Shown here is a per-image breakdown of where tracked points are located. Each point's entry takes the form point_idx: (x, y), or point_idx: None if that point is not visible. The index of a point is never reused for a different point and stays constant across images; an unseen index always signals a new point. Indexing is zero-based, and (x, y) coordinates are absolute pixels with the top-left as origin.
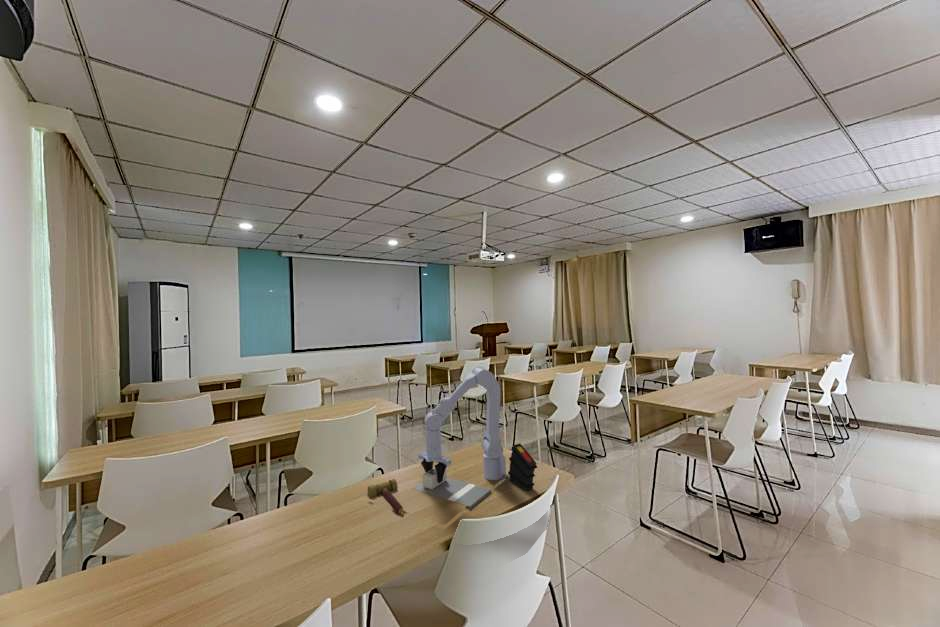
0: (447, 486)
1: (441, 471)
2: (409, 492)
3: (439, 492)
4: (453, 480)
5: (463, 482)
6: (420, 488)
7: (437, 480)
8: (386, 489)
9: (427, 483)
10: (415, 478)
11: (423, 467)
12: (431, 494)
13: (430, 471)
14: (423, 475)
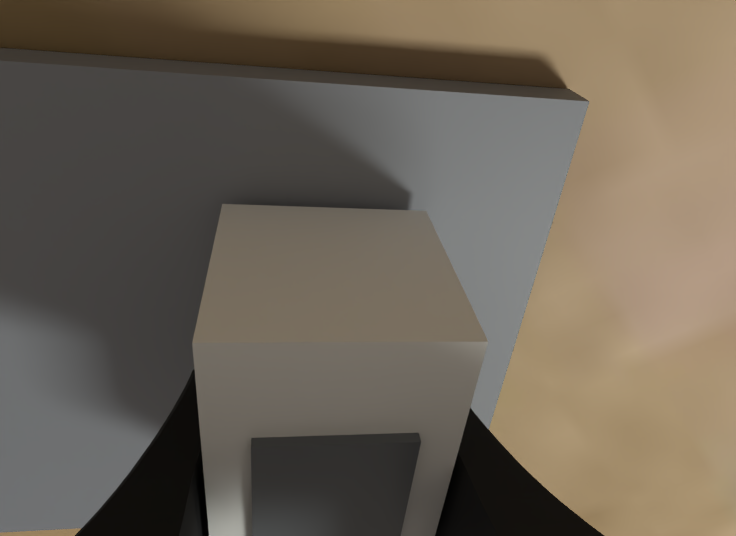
0: (111, 381)
1: None
2: (589, 30)
3: (55, 193)
4: None
5: (21, 522)
6: (445, 162)
7: None
8: None
9: (330, 248)
10: (663, 372)
11: (580, 521)
12: (120, 67)
13: (393, 492)
14: (456, 332)
